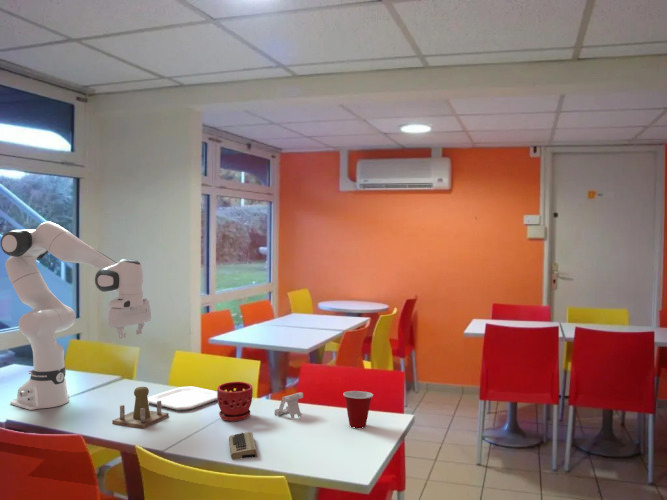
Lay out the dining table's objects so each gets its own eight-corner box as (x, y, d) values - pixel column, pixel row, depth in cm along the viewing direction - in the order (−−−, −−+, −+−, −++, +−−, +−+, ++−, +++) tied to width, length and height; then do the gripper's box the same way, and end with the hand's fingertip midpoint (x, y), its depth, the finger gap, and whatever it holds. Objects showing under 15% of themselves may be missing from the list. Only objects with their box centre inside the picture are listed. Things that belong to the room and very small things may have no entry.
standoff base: (112, 423, 204) (112, 406, 203) (138, 412, 217) (138, 396, 217) (143, 428, 199) (143, 411, 199) (168, 416, 212) (168, 400, 212)
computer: (228, 442, 188) (228, 432, 187) (253, 440, 189) (253, 430, 189) (230, 460, 172) (230, 450, 172) (257, 458, 174) (257, 448, 174)
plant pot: (210, 417, 211) (210, 386, 210) (238, 409, 220) (238, 379, 220) (231, 426, 202) (231, 393, 201) (259, 417, 211) (259, 385, 211)
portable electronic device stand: (291, 410, 220) (291, 389, 219) (305, 415, 214) (305, 393, 214) (274, 415, 214) (274, 393, 213) (287, 420, 208) (287, 398, 208)
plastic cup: (376, 422, 206) (376, 390, 205) (368, 432, 195) (368, 398, 195) (348, 419, 209) (348, 387, 209) (338, 429, 199) (339, 395, 199)
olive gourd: (144, 420, 204) (144, 390, 204) (129, 418, 205) (129, 389, 205) (153, 414, 210) (153, 385, 210) (138, 413, 211) (138, 384, 211)
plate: (228, 398, 236) (228, 393, 236) (183, 415, 215) (183, 409, 215) (186, 389, 249) (186, 384, 249) (140, 404, 228) (140, 398, 228)
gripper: (142, 297, 230) (142, 331, 230) (105, 303, 211) (105, 340, 211) (154, 298, 227) (154, 332, 228) (118, 304, 208) (119, 341, 209)
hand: (130, 336), depth 219 cm, fingers open, 8 cm apart
